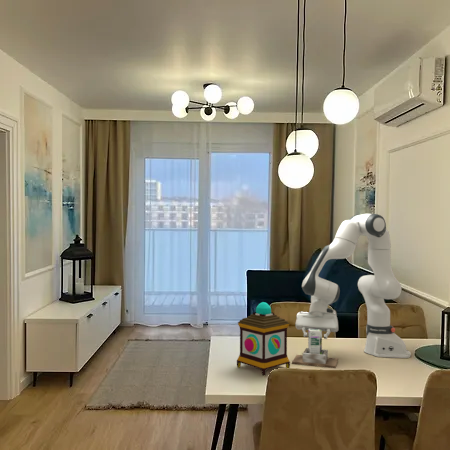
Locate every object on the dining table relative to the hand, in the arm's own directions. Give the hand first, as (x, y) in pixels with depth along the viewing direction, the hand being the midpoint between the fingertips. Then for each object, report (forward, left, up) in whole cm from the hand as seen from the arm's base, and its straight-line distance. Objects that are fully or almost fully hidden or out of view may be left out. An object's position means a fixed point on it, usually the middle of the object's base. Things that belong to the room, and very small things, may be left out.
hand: (315, 337), depth 226 cm
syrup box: (0, -1, -11) cm, 11 cm away
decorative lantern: (+21, +17, -12) cm, 30 cm away
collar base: (0, -1, -12) cm, 12 cm away
